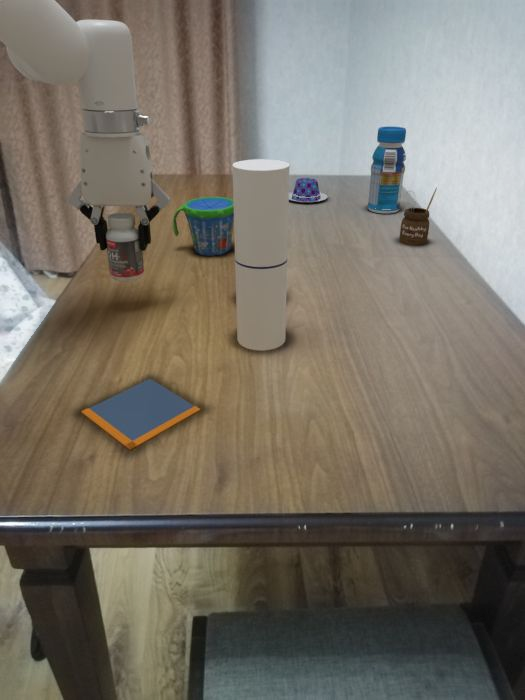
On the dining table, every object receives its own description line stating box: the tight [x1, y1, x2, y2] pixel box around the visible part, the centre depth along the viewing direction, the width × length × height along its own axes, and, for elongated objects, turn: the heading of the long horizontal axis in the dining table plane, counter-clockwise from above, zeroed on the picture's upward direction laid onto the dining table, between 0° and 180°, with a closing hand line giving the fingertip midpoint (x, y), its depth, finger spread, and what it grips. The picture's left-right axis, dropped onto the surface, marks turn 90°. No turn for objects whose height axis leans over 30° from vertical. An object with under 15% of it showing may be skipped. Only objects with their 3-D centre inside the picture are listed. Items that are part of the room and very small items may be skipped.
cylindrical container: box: [232, 158, 290, 351], centre depth 74 cm, size 7×7×25 cm
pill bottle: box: [106, 212, 145, 282], centre depth 84 cm, size 5×5×10 cm
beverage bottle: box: [367, 126, 407, 215], centre depth 136 cm, size 8×8×20 cm
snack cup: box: [172, 196, 234, 257], centre depth 111 cm, size 16×10×10 cm
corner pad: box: [81, 378, 202, 452], centre depth 64 cm, size 10×10×1 cm
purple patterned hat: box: [289, 177, 328, 204], centre depth 149 cm, size 12×12×5 cm
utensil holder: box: [399, 186, 438, 247], centre depth 115 cm, size 6×6×12 cm
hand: (124, 246), depth 84 cm, fingers closed on pill bottle, 5 cm apart
